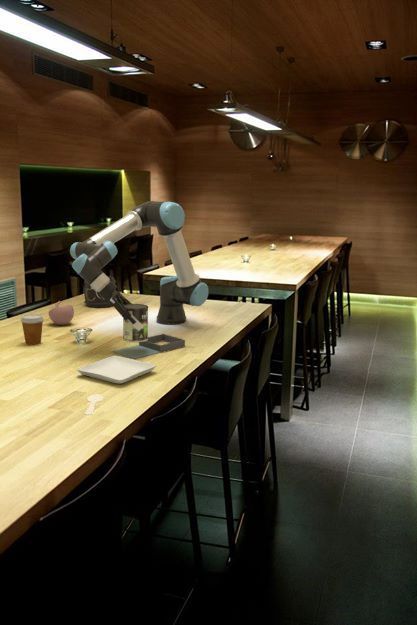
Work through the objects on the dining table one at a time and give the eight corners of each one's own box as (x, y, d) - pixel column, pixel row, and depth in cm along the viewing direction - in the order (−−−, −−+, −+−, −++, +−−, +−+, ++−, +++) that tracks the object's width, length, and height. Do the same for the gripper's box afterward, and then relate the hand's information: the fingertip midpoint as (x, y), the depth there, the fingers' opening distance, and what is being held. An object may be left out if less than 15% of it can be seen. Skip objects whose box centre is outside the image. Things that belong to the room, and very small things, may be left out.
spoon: (79, 415, 182) (79, 414, 182) (89, 395, 200) (89, 393, 199) (97, 416, 182) (97, 414, 182) (105, 395, 200) (105, 393, 200)
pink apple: (66, 320, 302) (65, 298, 300) (79, 325, 294) (78, 302, 292) (44, 324, 294) (43, 301, 292) (57, 328, 286) (56, 305, 283)
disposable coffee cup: (49, 342, 262) (48, 315, 260) (36, 347, 253) (34, 319, 251) (30, 339, 265) (29, 313, 263) (17, 345, 256) (15, 317, 254)
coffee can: (151, 337, 252) (151, 304, 249) (143, 343, 242) (143, 309, 239) (127, 335, 254) (127, 302, 251) (119, 341, 244) (119, 307, 241)
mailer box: (163, 340, 269) (163, 333, 268) (184, 346, 259) (185, 339, 259) (112, 351, 249) (112, 344, 249) (133, 359, 240) (133, 351, 239)
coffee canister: (114, 308, 332) (113, 280, 329) (81, 308, 332) (81, 280, 329) (119, 302, 350) (119, 275, 346) (88, 301, 350) (88, 275, 347)
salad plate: (120, 388, 206) (120, 379, 206) (75, 377, 217) (75, 368, 217) (158, 373, 224) (158, 364, 223) (114, 363, 235) (114, 354, 234)
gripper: (103, 288, 255) (140, 325, 258) (91, 298, 233) (132, 338, 236) (115, 276, 254) (152, 313, 257) (105, 284, 232) (145, 325, 235)
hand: (142, 325), depth 247 cm, fingers closed on coffee can, 10 cm apart
